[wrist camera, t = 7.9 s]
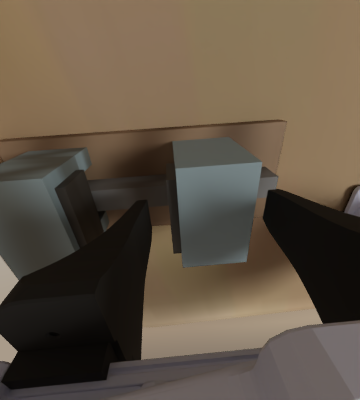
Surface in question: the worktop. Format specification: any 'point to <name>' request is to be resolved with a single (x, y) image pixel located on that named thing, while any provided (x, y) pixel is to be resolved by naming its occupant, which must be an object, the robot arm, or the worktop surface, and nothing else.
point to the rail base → (157, 151)
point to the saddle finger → (212, 200)
